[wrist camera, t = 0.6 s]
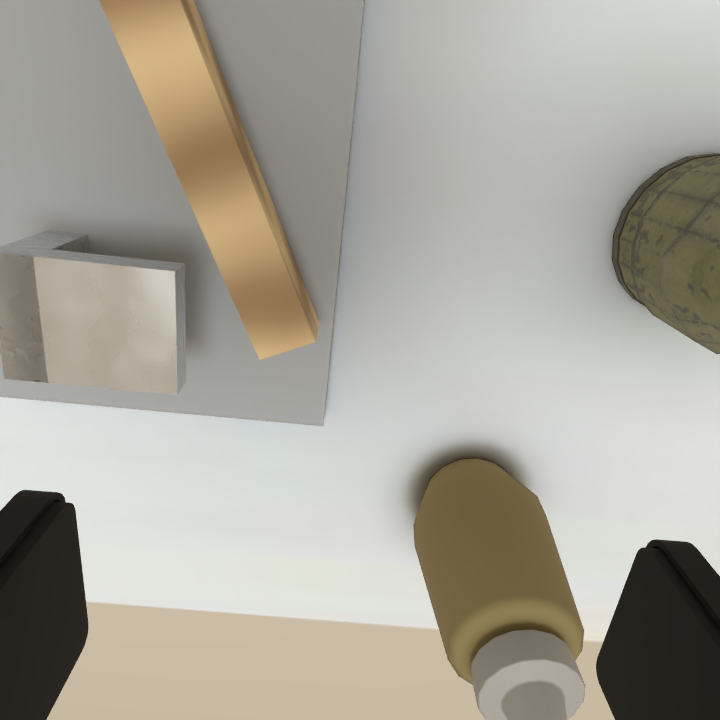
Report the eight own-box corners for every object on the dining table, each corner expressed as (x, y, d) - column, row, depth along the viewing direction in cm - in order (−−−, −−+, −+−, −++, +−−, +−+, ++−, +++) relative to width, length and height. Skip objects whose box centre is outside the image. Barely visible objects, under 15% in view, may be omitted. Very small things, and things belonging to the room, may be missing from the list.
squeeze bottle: (399, 536, 38) (434, 850, 22) (417, 435, 35) (473, 711, 19) (514, 546, 39) (634, 861, 22) (541, 447, 36) (705, 727, 19)
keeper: (48, 230, 29) (-16, 251, 24) (205, 246, 29) (175, 271, 24) (60, 338, 31) (4, 379, 26) (205, 353, 31) (177, 394, 26)
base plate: (-90, -296, 22) (-121, -325, 21) (385, -225, 23) (388, -247, 22) (11, 385, 34) (-4, 396, 32) (324, 414, 34) (323, 426, 33)
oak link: (35, -168, 22) (-98, -291, 16) (125, -210, 22) (27, -355, 15) (259, 341, 31) (234, 400, 24) (327, 319, 30) (320, 372, 24)
